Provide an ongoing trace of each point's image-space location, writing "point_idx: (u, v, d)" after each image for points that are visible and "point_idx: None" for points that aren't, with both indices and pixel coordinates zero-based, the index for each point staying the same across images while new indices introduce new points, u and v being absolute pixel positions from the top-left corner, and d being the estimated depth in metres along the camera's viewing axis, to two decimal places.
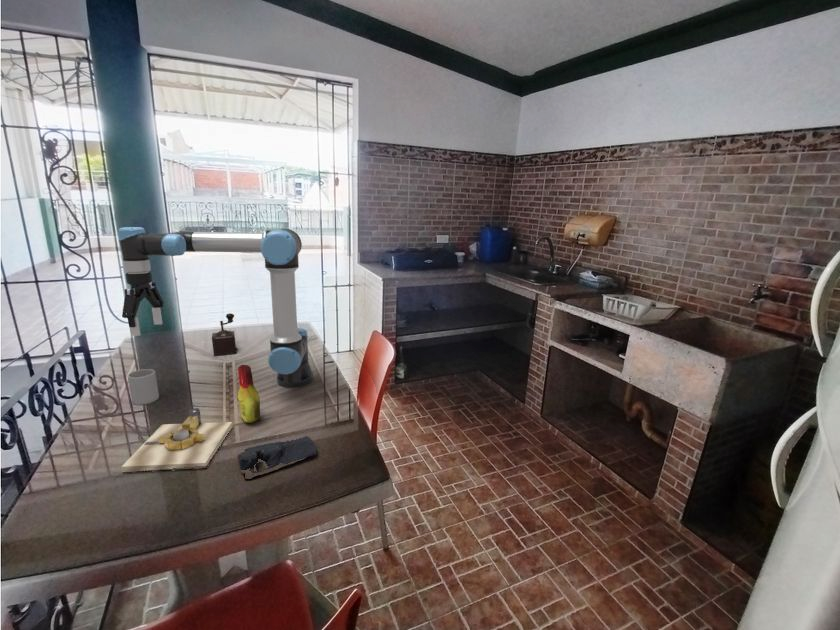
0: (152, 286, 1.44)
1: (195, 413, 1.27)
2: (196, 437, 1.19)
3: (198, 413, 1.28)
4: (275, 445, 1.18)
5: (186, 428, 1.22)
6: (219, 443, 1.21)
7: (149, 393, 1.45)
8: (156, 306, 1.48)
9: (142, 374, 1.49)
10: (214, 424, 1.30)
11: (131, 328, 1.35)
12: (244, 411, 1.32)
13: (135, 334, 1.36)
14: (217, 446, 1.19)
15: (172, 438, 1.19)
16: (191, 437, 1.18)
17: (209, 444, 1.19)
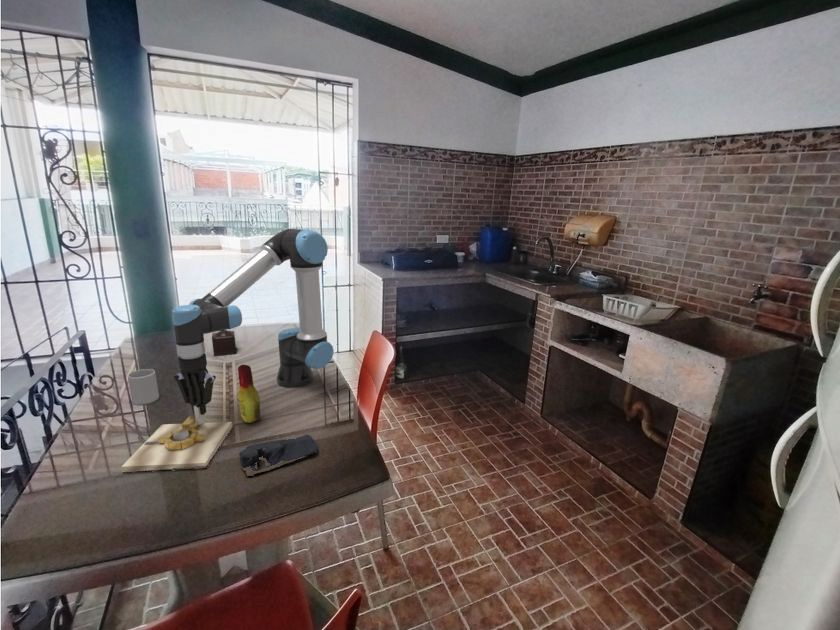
0: (206, 379, 1.22)
1: None
2: (196, 437, 1.19)
3: None
4: (276, 443, 1.19)
5: (186, 428, 1.22)
6: (219, 443, 1.21)
7: (149, 393, 1.45)
8: None
9: (142, 374, 1.49)
10: (214, 424, 1.30)
11: None
12: (244, 411, 1.32)
13: None
14: (217, 446, 1.19)
15: (172, 438, 1.19)
16: (191, 437, 1.18)
17: (209, 444, 1.19)
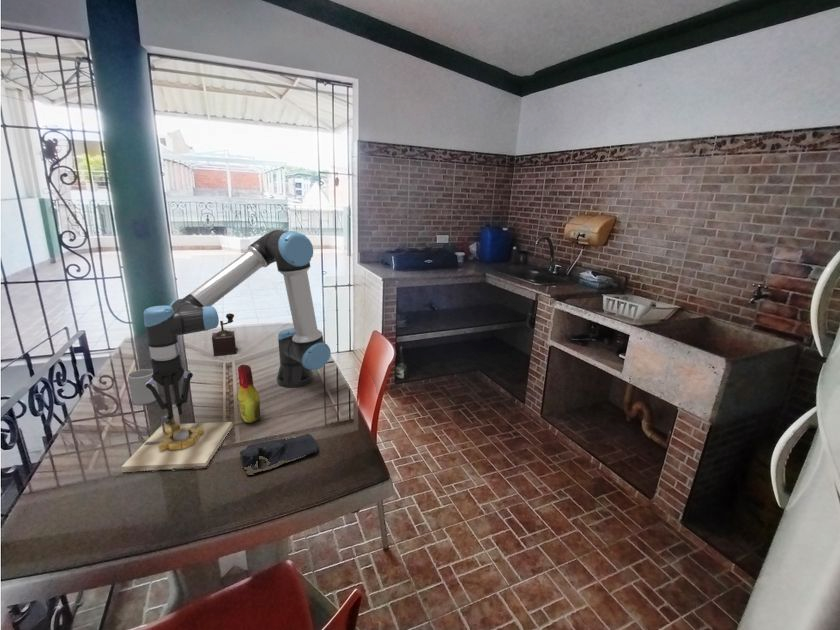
0: (186, 376, 1.24)
1: None
2: (198, 431, 1.22)
3: None
4: (277, 442, 1.20)
5: (176, 430, 1.21)
6: (219, 443, 1.21)
7: (149, 393, 1.45)
8: (176, 404, 1.24)
9: (142, 374, 1.49)
10: (214, 424, 1.30)
11: None
12: (244, 411, 1.32)
13: None
14: (217, 446, 1.19)
15: None
16: (195, 432, 1.21)
17: (209, 444, 1.19)
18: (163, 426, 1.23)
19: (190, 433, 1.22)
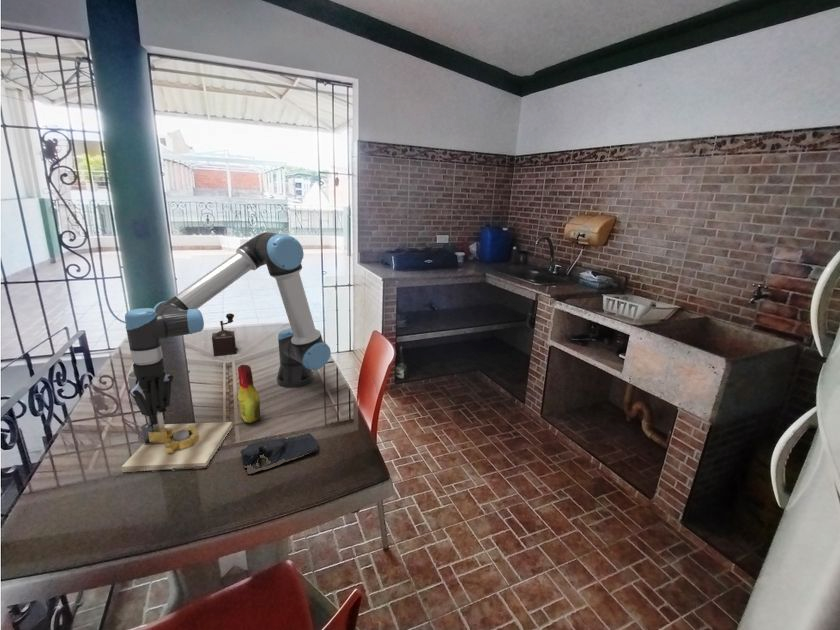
0: (167, 378, 1.21)
1: None
2: None
3: None
4: (277, 441, 1.20)
5: (169, 434, 1.19)
6: (219, 443, 1.21)
7: None
8: (158, 410, 1.20)
9: None
10: (214, 424, 1.30)
11: (154, 424, 1.20)
12: (244, 411, 1.32)
13: None
14: (217, 446, 1.19)
15: None
16: (192, 429, 1.22)
17: (209, 444, 1.19)
18: (147, 436, 1.18)
19: None
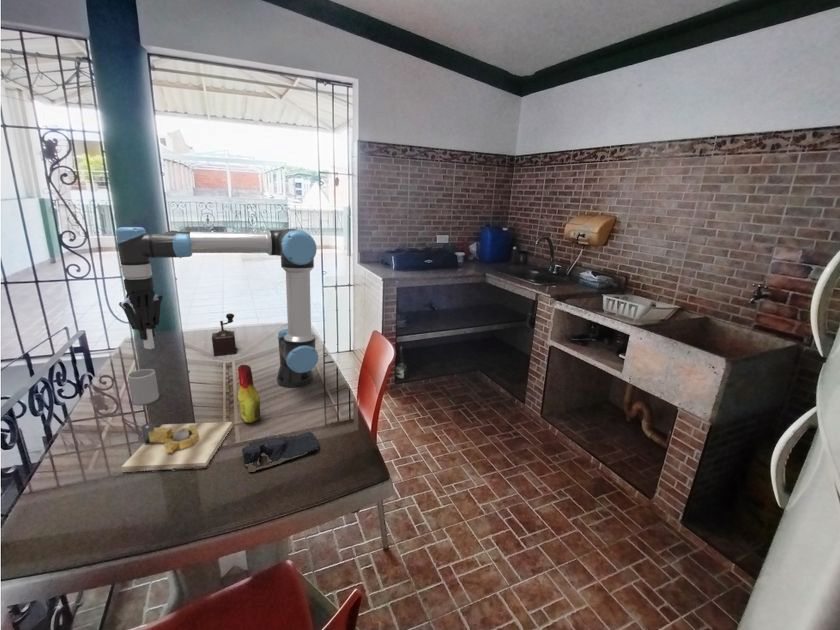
0: (157, 298, 1.28)
1: None
2: None
3: None
4: (278, 440, 1.21)
5: (169, 434, 1.19)
6: (219, 443, 1.21)
7: (149, 393, 1.45)
8: (148, 327, 1.27)
9: (142, 374, 1.49)
10: (214, 424, 1.30)
11: (144, 340, 1.27)
12: (244, 411, 1.32)
13: (147, 347, 1.28)
14: (217, 446, 1.19)
15: None
16: (192, 429, 1.22)
17: (209, 444, 1.19)
18: (147, 436, 1.18)
19: None
